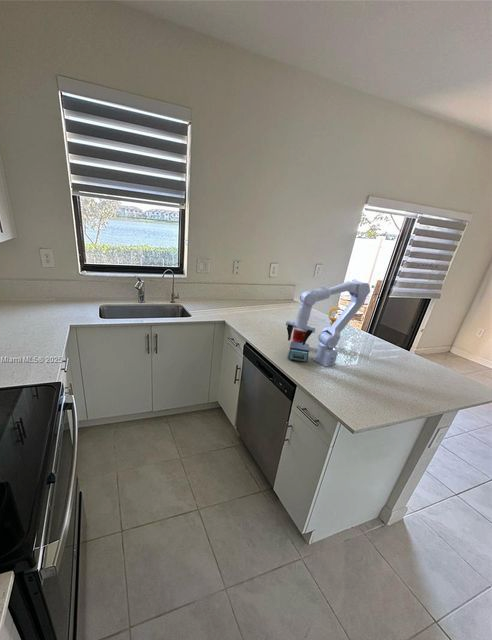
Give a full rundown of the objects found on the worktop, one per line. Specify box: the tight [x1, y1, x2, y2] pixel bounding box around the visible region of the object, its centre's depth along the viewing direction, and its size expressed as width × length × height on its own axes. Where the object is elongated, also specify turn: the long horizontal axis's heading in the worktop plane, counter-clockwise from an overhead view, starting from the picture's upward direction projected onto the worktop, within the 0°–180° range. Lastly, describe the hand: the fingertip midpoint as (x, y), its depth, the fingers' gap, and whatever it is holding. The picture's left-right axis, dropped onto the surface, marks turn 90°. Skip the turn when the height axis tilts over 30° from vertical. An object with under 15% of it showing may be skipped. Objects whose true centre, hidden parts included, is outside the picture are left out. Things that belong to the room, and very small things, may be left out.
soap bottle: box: [321, 306, 341, 350], centre depth 169 cm, size 9×9×25 cm
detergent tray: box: [289, 349, 309, 362], centre depth 152 cm, size 13×8×5 cm, turn 165°
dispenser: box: [287, 340, 310, 362], centre depth 156 cm, size 10×10×7 cm
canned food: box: [291, 327, 307, 344], centre depth 170 cm, size 8×8×11 cm
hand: (296, 342), depth 147 cm, fingers open, 7 cm apart
